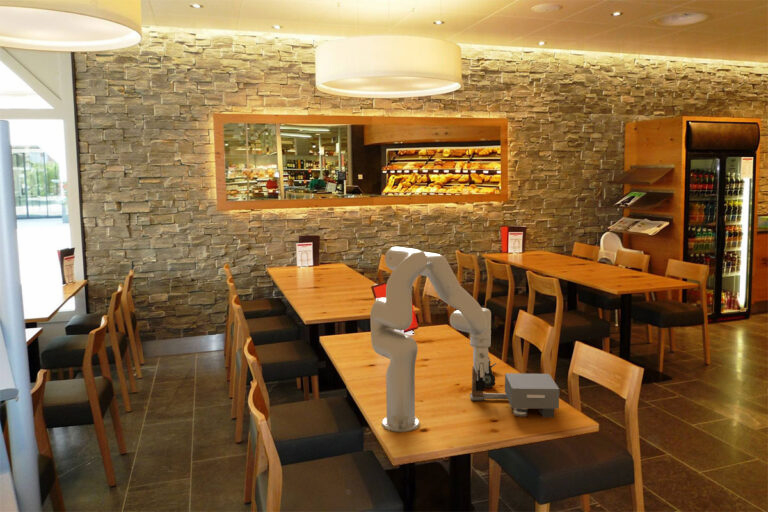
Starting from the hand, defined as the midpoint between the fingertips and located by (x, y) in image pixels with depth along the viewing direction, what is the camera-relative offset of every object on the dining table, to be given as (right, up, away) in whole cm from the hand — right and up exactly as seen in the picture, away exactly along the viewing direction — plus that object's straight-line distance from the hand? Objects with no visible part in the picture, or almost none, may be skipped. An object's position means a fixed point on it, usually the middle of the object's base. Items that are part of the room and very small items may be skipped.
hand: (479, 388), depth 223 cm
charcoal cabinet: (+16, -5, -10) cm, 20 cm away
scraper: (+7, -4, 0) cm, 8 cm away
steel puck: (+12, -6, -13) cm, 19 cm away
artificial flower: (+7, -2, +24) cm, 25 cm away
